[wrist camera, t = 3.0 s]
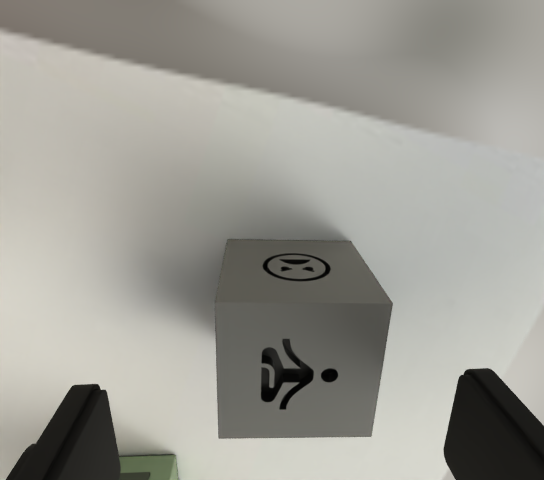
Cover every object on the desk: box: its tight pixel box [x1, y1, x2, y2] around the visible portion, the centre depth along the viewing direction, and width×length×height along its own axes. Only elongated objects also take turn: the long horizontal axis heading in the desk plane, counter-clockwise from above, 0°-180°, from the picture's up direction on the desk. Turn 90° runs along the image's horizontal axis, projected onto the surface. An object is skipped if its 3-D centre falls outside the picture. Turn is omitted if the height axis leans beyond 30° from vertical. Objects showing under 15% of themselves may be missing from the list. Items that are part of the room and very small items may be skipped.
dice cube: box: [215, 239, 393, 438], centre depth 14 cm, size 5×5×5 cm
